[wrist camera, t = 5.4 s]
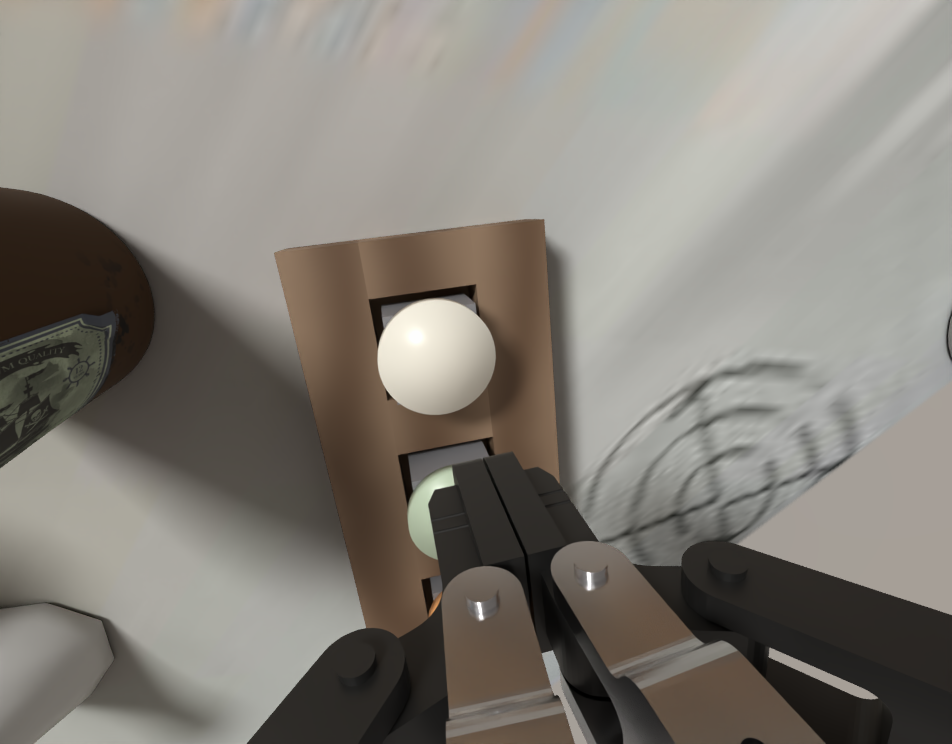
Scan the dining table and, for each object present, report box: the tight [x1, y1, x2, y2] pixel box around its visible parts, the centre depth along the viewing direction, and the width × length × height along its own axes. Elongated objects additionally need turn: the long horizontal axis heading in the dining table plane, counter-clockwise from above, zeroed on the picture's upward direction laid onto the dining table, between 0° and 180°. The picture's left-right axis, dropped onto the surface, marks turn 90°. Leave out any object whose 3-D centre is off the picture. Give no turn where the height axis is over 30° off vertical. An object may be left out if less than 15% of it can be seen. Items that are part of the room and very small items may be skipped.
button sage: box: [407, 439, 489, 560], centre depth 24 cm, size 5×5×4 cm
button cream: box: [378, 293, 496, 415], centre depth 22 cm, size 5×5×4 cm
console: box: [274, 219, 560, 638], centre depth 26 cm, size 12×26×3 cm, turn 7°
